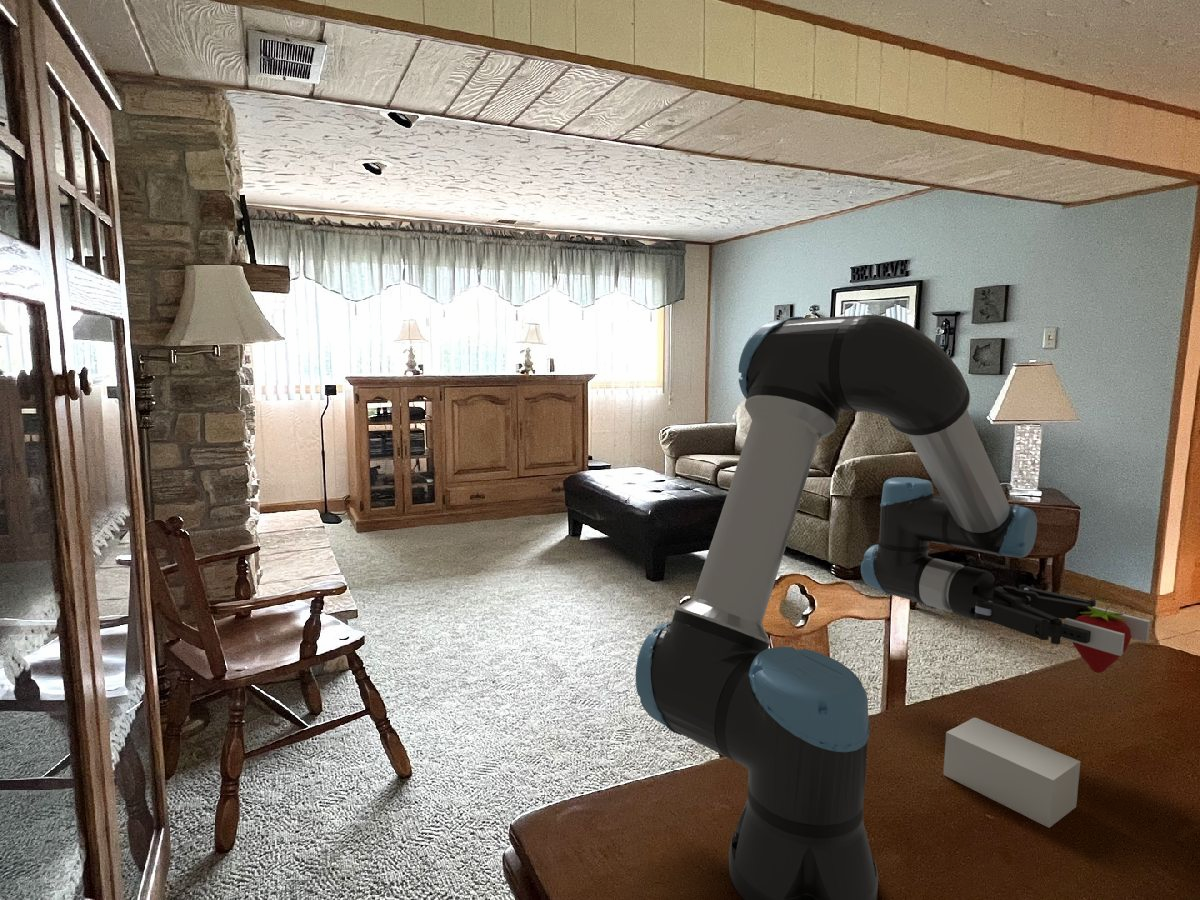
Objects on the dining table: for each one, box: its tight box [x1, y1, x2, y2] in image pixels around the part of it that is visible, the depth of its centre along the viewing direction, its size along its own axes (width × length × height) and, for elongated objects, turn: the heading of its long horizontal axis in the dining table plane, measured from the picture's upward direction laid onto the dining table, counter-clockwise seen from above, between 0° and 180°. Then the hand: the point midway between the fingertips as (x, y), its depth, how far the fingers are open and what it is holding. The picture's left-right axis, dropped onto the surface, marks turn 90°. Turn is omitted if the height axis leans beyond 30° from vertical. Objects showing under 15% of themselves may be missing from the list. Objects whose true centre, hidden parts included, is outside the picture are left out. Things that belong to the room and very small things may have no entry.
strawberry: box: [1071, 597, 1132, 674], centre depth 94 cm, size 6×8×10 cm
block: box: [943, 717, 1081, 828], centre depth 91 cm, size 7×13×6 cm, turn 34°
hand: (1135, 637), depth 91 cm, fingers closed on strawberry, 7 cm apart
